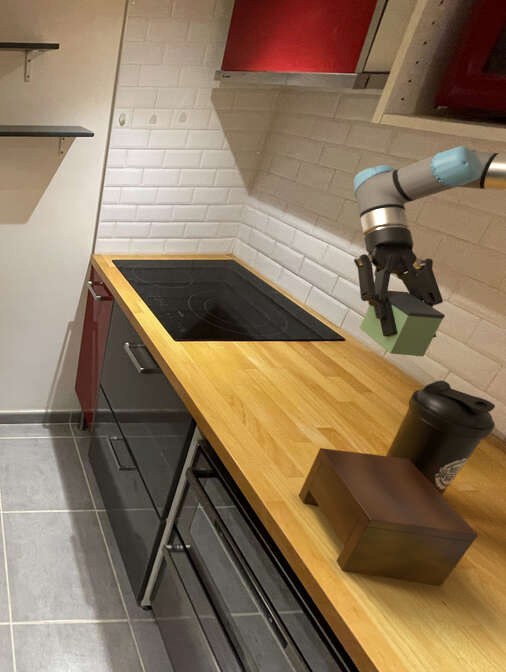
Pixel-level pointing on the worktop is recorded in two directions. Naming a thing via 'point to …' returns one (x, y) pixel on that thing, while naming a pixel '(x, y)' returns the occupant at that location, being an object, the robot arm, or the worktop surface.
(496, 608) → the worktop surface
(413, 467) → the walnut shelf
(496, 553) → the worktop surface
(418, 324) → the box
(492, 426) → the water bottle
